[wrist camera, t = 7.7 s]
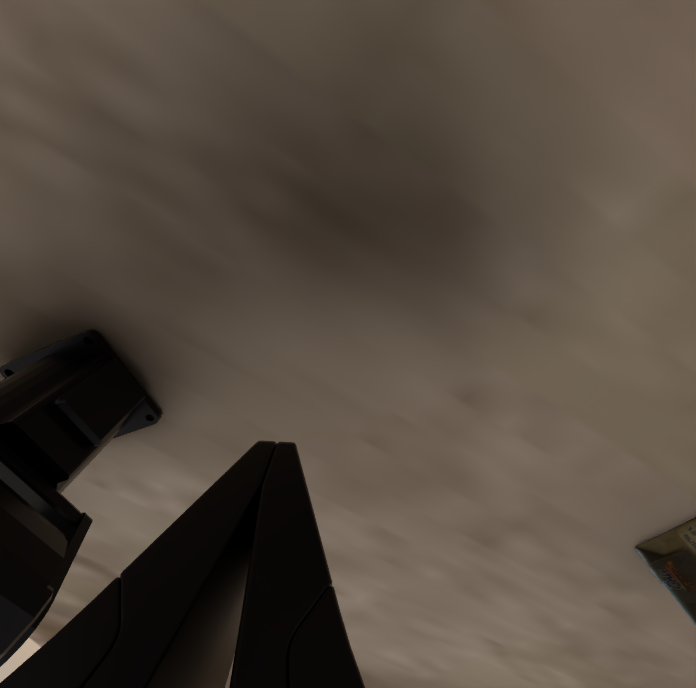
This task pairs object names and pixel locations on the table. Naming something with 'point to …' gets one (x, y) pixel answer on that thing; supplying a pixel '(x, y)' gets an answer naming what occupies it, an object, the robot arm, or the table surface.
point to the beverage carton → (675, 563)
